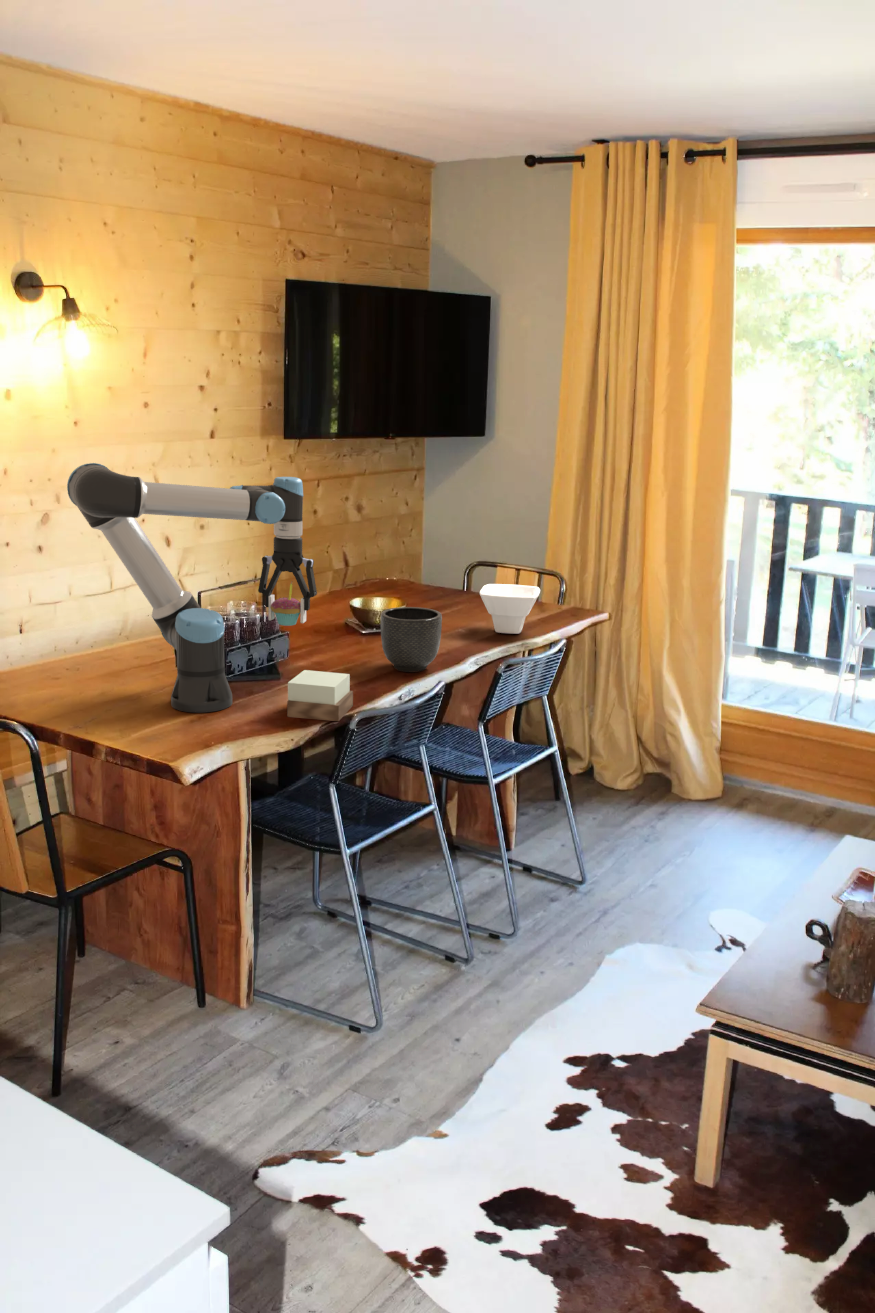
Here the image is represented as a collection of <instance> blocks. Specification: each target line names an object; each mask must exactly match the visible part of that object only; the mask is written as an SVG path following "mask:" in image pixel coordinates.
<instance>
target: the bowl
mask: <svg viewBox="0 0 875 1313" xmlns="http://www.w3.org/2000/svg"><path fill="white" fill-rule="evenodd" d="M540 593H541V589H540V587H539V586H533V585H526V584H525V585H522V584H509V583H506V584H505V583H503V584H502V583H488V584H485V585H483V586H482V588H481V589H480V591H479V595H480V598H481V600H482V602H483V604H484V606H485V609H486V610H487V613H488V614H489V615H491V619H492V623H493V624H492V625H493V628H494V631H495V633H499V634H500V633H501V634H512V635H513V634H521V632H522V631H523V627H524V624H525V621H526V617H527V616H529V614H530V612H531V610H532V609H533V607H534V605H535V603H536V601H537V600H538V597H539V596H540Z"/></svg>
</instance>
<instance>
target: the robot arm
mask: <svg viewBox="0 0 875 1313" xmlns="http://www.w3.org/2000/svg"><path fill="white" fill-rule="evenodd" d="M66 486H67V487H66V489H67V494H68V497H69V499H70V501H71V503H72V504H74V505H75V507H77V508H78V510H79V511H80V513H81V514H82V515H83V517H84V519H85V521H86V522H87V524H88V525H89V526H90V527H91V529H94V530H97V531H101V533H102V535H103V536H104V537H105V539H106V540H107V541H108V543H109V545H110V547H112V549H113V551H114V552H115V554H116V555H117V557H118V558H119V559H120V561H121V562H122V564H123V565H124V567H125V568H126V570H127V572H128V573H129V575H130V576H131V577H132V579H133V580H134V582H135V583H136V584H137V586H138V588H139V589H140V591H141V593H142V594H143V595H144V597H145V598H146V599H147V601H148V603H149V604H150V606H151V607H152V612H151V618H152V620H153V621H154V623H155V624H156V625H157V627H158V629H159V631H160V632H161V635H162V636H161V637H163V639H164V640H165V641H166V642H167V643H168V644H169V645H170V646H172V648H173V649H175V650H176V666H177V667H176V669H177V671H176V672H177V673H176V674H177V676H176V680H175V683H174V686H173V688H172V693H171V695H170V700H171V701H170V704H171V707H172V709H175V710H177V711H180V712H184V713H185V712H186V713H197V714H198V713H210V712H211V713H213V712H219V711H222V710H225V709H228V708H229V707H231V706H232V704H233V693H232V690H231V687H230V685H229V682H228V679H227V676H226V673H225V672H226V671H225V670H226V667H225V664H226V663H225V630H226V629H225V624H224V619H223V616H222V615H221V614H220V613H219V612H218V611H216V610H213V609H211V610H210V609H209V608H203V607H201V606H200V604H199V603H198V602H197V600H196V598H195V597H194V596H193V594H192V593H191V592H190V591H187V590H183V589H182V588H181V586H180V585H179V584H178V582H177V580H176V579H175V577H174V575H173V574H172V573H171V571H170V570H169V568H168V566H167V565H166V563H165V562H164V561H163V559H162V558H161V555H160V554H159V553H158V551H157V550H156V548H155V546H154V545H153V544H152V542H151V541H150V538H148V536H147V535H146V533H145V531H144V529H143V528H142V527H141V525H140V524H139V522H138V521H137V519H139V518H140V517H141V516H142V515H154V516H167V517H168V516H171V517H172V516H174V517H188V518H189V517H190V518H200V519H202V518H204V519H217V520H218V519H220V520H234V521H235V520H236V521H237V520H238V521H248V522H261V523H263V524H267V525H268V524H269V525H272V524H273V535H275V536H274V537H273V552H272V553H273V554H272V555H265V556H262V558H261V562H262V568H261V574H260V580H259V585H258V589H257V591H258V593H259V594H263V595H264V598H265V599H264V601H265V602H264V606H265V608H267V609H268V616H267V617H268V621H272V620H275V613H274V612H273V611H272V610H271V604H272V603H273V602H274V601H275V600H276V599H275V594H273V591H274V589H275V587H276V585H277V582H278V580H279V578H280V576H281V574H282V573H283V572H287V573H292V575H293V576H294V578H295V581H296V582H297V585H298V588H299V590H300V593H301V595H302V596H303V597H302V598H300V603H301V613H300V616H299V617H300V619H299V620H300V624H304V623H305V622H307V611H309V610H310V609H311V608H310V607H311V598H314V597H316V596H317V595H318V592H317V591H318V590H317V585H316V578H315V574H314V572H315V571H314V563H315V560H314V559H313V558H310V559H309V558H305V557H304V554H303V538H302V536H303V527H304V524H303V510H304V509H303V507H304V486H303V480H302V479H301V478H299V477H296V476H276V477H275V478H274V480H273V484H271V485H270V484H269V485H243V484H241V485H232V486H230V487H229V488H227V487H213V486H212V487H211V486H202V485H201V486H200V485H187V484H186V485H185V484H176V483H175V484H174V483H165V482H164V483H163V482H162V483H161V482H150V481H144V480H143V479H142V478H141V477H139V476H130V475H125V474H120V473H118V472H115V471H112V470H111V469H109V468H108V467H107V466H105V465H103V464H101V463H96V462H95V463H94V462H89V463H84V464H82V465H79V466H78V467H76V468H75V469H74V470H73V471H72V472H71V473H70V475H69V477H68V479H67V485H66ZM272 562H273V563H274V564H275V566H276V567H275V568H274V570H273V574H272V576H271V577H270V580H269V582H268V578H269V572H270V568H271V564H272ZM302 564H303V566H304V567H305V571H306V573H305V574H306V578H307V580H305V578H304V575H303V573H302V569H301V565H302ZM306 581H307V584H306ZM307 585H308V586H307Z"/></svg>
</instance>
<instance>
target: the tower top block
mask: <svg viewBox="0 0 875 1313" xmlns="http://www.w3.org/2000/svg"><path fill="white" fill-rule="evenodd" d="M350 678H351V676H350V673H342V672H331V671H318V670H309V669H304V670H303V671H301V672H300V673H299V674H297V675H295V677H293V678H292V679H291V680H289V681H288V682H287V701H288V700H290V701H300V702H311V703H321V704H331V705H335V704H336V703H337V702H338V701H340V700H341V699H342V698H343V697H344V696H345V695H346V694H347V693H348V692H349V691H351V690H350V688H351V687H350V685H351V684H350V683H351V682H350V680H351V679H350Z"/></svg>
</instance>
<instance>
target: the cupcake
mask: <svg viewBox="0 0 875 1313" xmlns="http://www.w3.org/2000/svg"><path fill="white" fill-rule="evenodd" d="M292 594H293V581H291V582H290V584H289V592H288V597H279V598H277V599H275V601H274V602H273V603H272V604H271V610H272V611H273V612H274V616H275V617H276V620H277V623H278V625H280V626H287V627H288V626H289V627H290V626H295V625H296V624H297V622H298V619H299V617H300V615H301V601H299V600H298V599H296V598H295V597H292Z"/></svg>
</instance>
